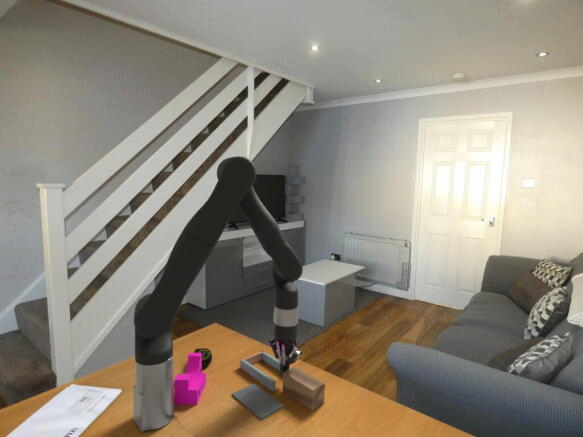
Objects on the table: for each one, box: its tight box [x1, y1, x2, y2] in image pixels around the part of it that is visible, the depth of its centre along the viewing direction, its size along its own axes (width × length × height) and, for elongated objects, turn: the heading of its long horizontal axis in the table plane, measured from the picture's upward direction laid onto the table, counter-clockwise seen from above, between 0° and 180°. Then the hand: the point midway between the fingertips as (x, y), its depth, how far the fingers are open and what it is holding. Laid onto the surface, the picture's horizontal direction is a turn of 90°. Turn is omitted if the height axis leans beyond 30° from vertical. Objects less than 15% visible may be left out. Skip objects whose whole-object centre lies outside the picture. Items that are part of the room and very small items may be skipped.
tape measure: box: [193, 347, 213, 369], centre depth 116 cm, size 7×7×4 cm
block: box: [282, 366, 326, 412], centre depth 100 cm, size 5×12×6 cm, turn 44°
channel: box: [239, 350, 292, 392], centre depth 112 cm, size 10×17×3 cm, turn 43°
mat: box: [231, 383, 285, 421], centre depth 98 cm, size 8×14×1 cm, turn 43°
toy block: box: [174, 352, 207, 405], centre depth 103 cm, size 15×6×8 cm, turn 1°
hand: (284, 374), depth 106 cm, fingers closed
